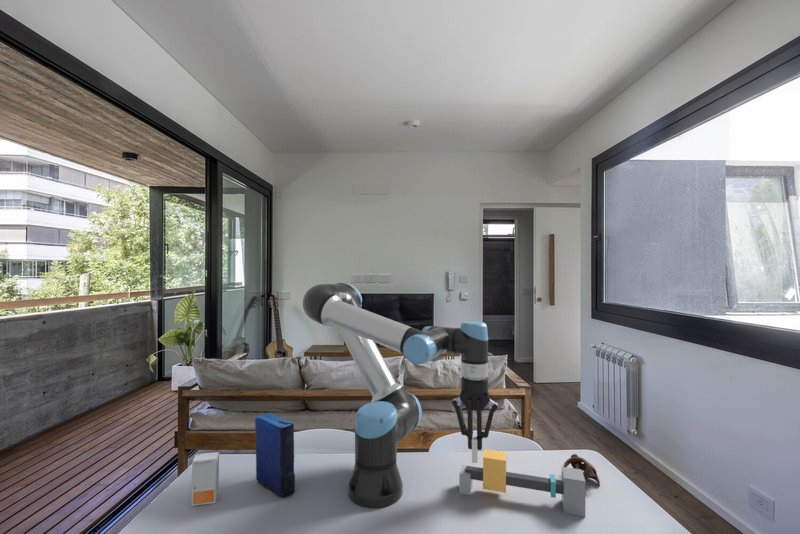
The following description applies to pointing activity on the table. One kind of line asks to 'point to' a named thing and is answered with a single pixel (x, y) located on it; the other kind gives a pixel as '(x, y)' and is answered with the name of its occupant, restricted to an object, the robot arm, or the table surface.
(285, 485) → the book
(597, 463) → the table surface
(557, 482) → the slider rail
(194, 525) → the table surface
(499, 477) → the sleeve
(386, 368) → the robot arm
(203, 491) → the skincare box
